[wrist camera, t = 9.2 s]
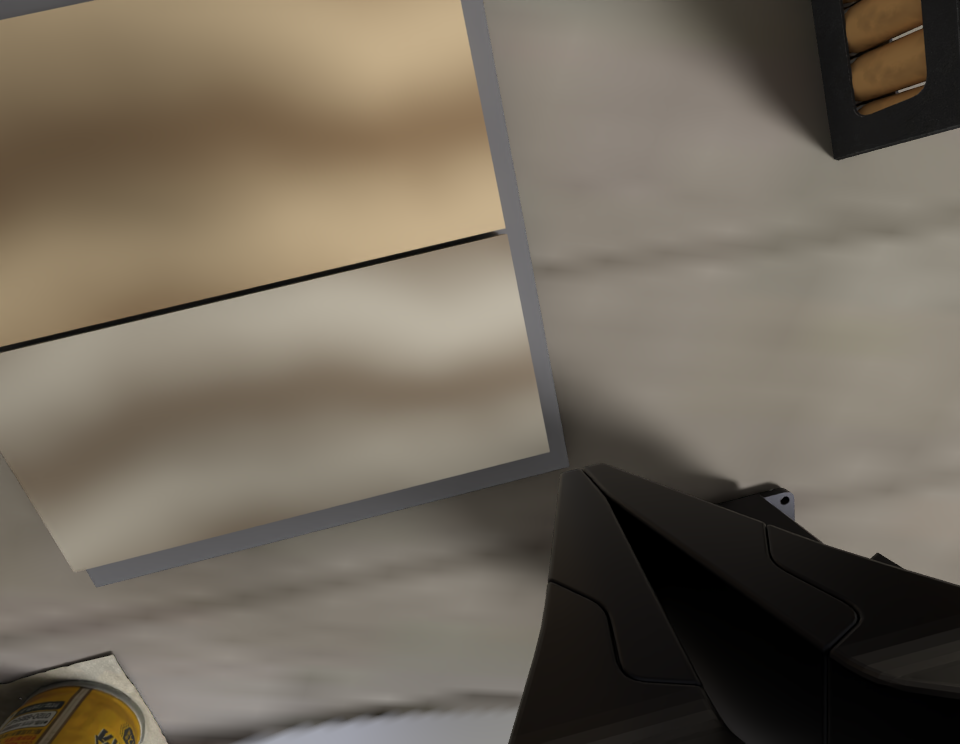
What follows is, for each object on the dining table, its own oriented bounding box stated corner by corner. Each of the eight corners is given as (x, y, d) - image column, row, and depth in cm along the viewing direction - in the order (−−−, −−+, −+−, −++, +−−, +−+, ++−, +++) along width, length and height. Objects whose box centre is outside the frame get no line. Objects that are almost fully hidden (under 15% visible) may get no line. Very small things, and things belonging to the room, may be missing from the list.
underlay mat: (563, 456, 22) (569, 466, 21) (111, 571, 21) (96, 587, 20) (451, -138, 15) (452, -163, 14) (-211, -2, 15) (-257, -19, 14)
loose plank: (541, 436, 20) (549, 451, 19) (100, 548, 20) (73, 572, 18) (501, 233, 18) (507, 233, 16) (-12, 354, 17) (-53, 365, 16)
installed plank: (499, 229, 18) (505, 228, 16) (-12, 349, 17) (-53, 359, 16) (444, -44, 15) (445, -74, 14) (-161, 84, 15) (-225, 67, 13)
